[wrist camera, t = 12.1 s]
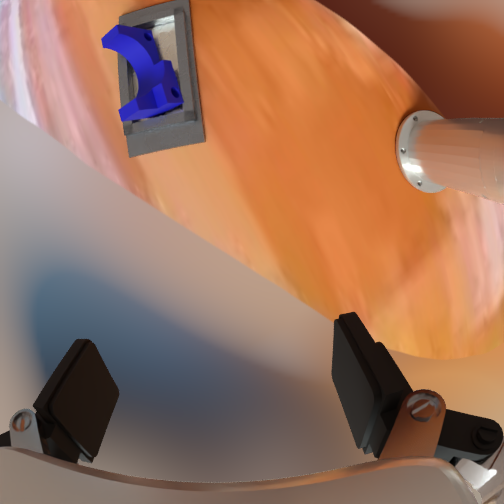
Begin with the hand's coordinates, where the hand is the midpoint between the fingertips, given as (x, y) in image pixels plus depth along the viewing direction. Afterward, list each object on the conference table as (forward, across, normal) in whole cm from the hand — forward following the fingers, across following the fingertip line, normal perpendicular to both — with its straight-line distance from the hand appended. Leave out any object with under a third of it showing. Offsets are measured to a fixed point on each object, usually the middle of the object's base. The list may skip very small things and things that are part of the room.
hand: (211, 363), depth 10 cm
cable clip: (+26, +6, -20) cm, 34 cm away
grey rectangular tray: (+28, +7, -20) cm, 35 cm away
